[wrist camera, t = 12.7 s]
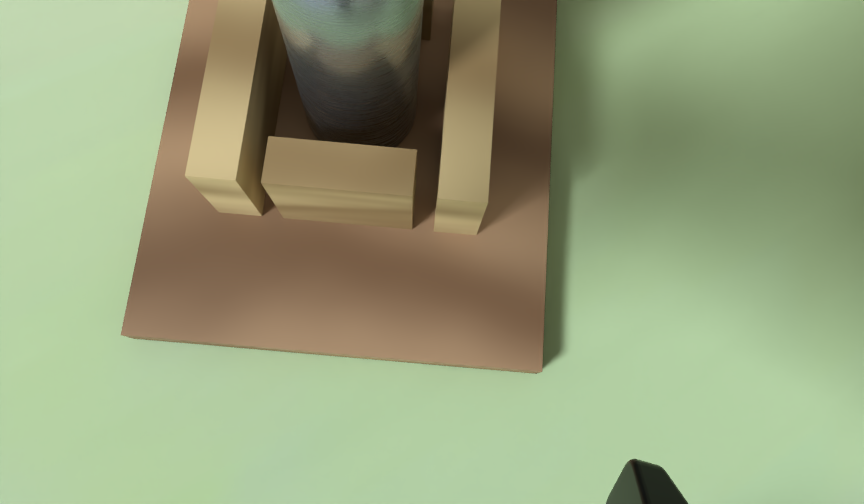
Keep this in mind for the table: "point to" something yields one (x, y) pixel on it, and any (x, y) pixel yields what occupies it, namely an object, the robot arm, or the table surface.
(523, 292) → the socket board
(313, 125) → the metal pin
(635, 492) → the robot arm
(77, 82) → the table surface
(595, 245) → the table surface
